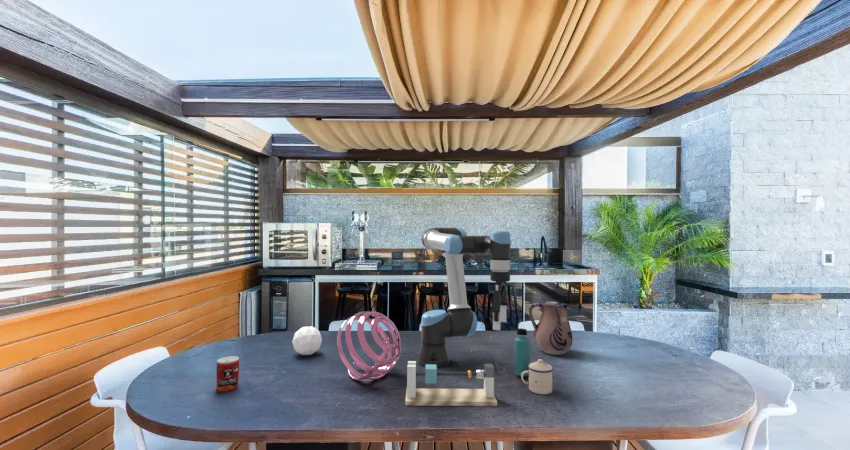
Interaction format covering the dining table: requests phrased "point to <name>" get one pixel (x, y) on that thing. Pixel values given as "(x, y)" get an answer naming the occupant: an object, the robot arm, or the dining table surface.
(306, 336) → the geodesic sphere
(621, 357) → the dining table surface
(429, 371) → the sleeve
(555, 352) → the ceramic pitcher
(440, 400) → the cord jig
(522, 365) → the beverage bottle
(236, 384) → the canned food
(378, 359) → the spiral basket
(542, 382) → the teacup with lid
